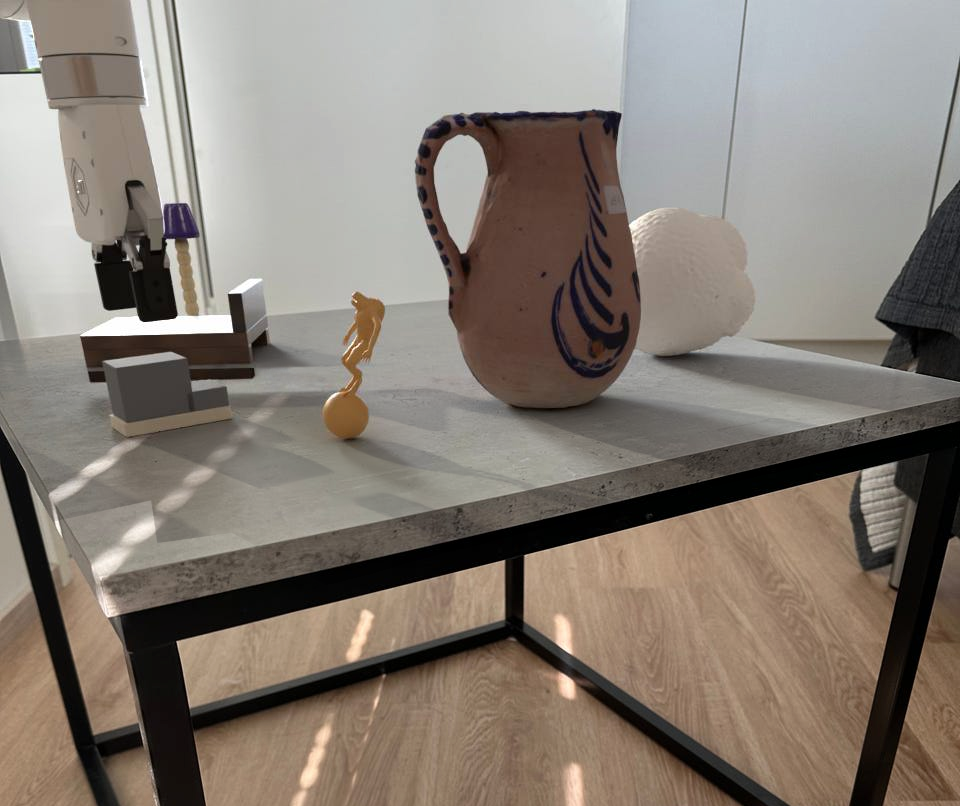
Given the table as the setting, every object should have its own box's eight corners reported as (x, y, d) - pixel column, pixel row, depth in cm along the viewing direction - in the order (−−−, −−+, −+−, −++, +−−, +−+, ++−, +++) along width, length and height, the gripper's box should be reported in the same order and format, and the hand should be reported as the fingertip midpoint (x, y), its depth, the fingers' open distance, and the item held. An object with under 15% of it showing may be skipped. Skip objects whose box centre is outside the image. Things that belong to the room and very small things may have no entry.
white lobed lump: (556, 352, 112) (559, 208, 105) (649, 333, 122) (658, 200, 115) (690, 378, 99) (704, 215, 91) (782, 353, 109) (802, 205, 102)
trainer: (126, 437, 82) (112, 369, 79) (111, 427, 85) (97, 361, 82) (232, 418, 87) (223, 353, 84) (214, 409, 90) (204, 346, 88)
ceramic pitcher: (672, 405, 89) (697, 105, 77) (482, 439, 80) (477, 105, 68) (569, 372, 102) (576, 113, 90) (396, 398, 93) (380, 113, 81)
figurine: (316, 428, 84) (302, 288, 78) (380, 421, 86) (371, 283, 80) (335, 453, 77) (321, 301, 71) (404, 445, 79) (396, 296, 73)
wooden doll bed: (89, 382, 102) (71, 296, 98) (124, 360, 112) (108, 281, 108) (252, 379, 102) (241, 293, 98) (271, 357, 113) (262, 278, 108)
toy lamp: (173, 340, 123) (150, 203, 116) (205, 336, 126) (185, 201, 118) (188, 345, 120) (166, 204, 112) (221, 340, 123) (201, 202, 115)
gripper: (19, 94, 77) (69, 309, 85) (77, 77, 64) (128, 331, 72) (110, 94, 81) (149, 300, 89) (181, 79, 68) (219, 320, 76)
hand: (139, 314), depth 81 cm, fingers open, 9 cm apart
